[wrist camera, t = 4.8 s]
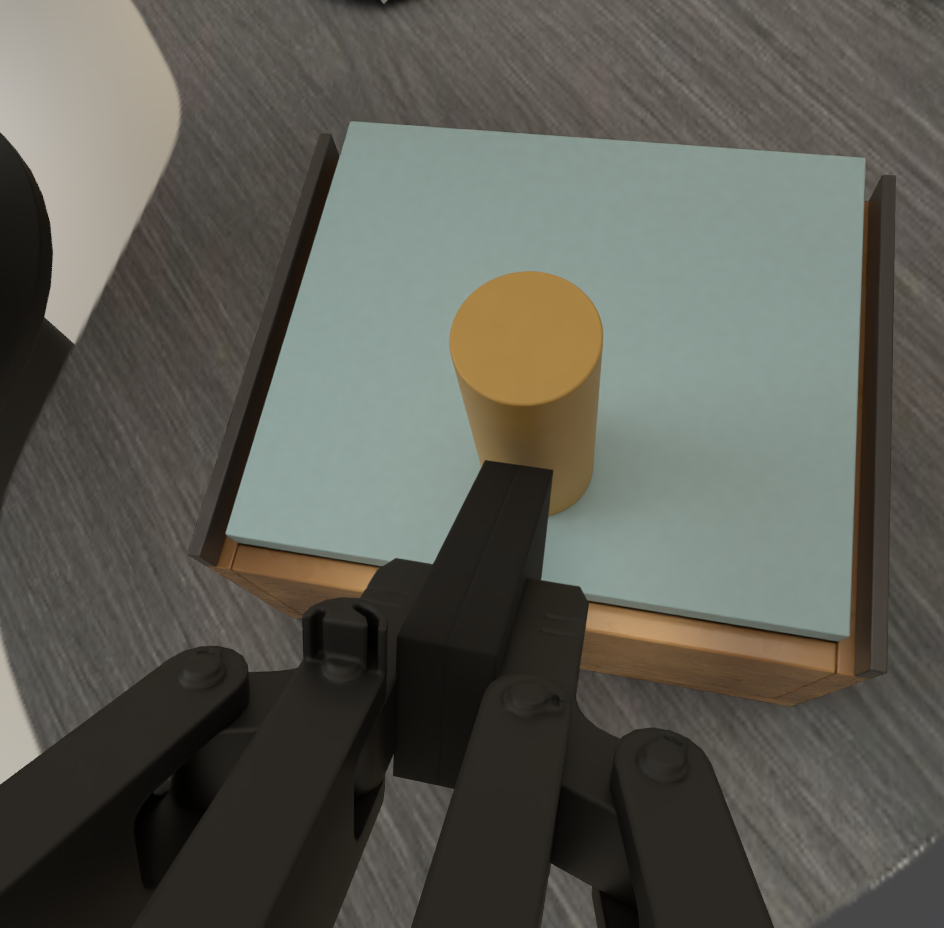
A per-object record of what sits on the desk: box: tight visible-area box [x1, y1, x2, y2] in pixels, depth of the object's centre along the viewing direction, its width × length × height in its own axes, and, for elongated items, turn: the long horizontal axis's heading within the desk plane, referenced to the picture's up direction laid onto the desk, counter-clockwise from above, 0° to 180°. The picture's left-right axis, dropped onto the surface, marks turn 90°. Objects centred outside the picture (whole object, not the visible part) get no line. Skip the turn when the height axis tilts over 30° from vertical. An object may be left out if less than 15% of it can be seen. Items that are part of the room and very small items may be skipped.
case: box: [187, 133, 896, 706], centre depth 28 cm, size 18×15×9 cm
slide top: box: [226, 121, 866, 642], centre depth 21 cm, size 16×15×8 cm
